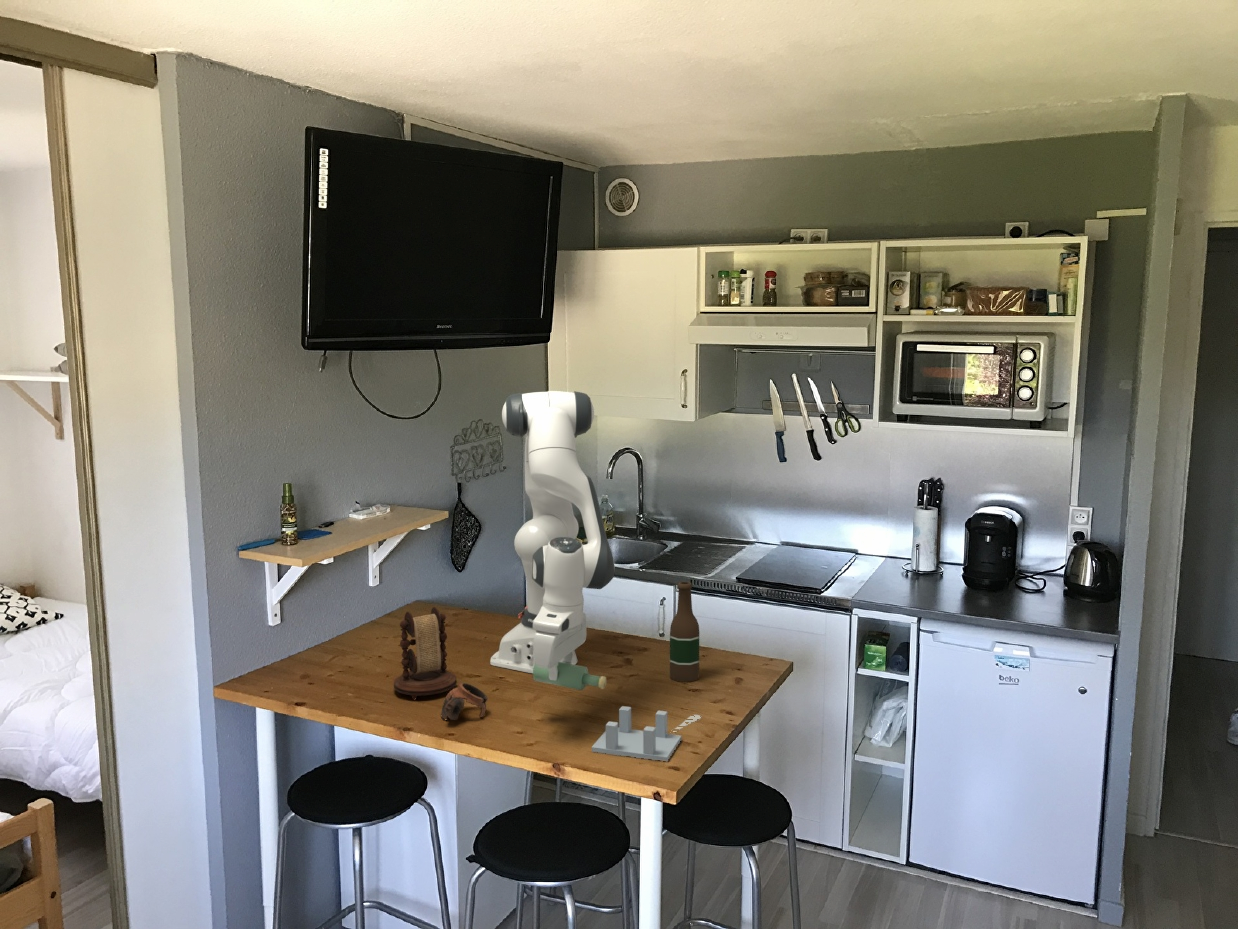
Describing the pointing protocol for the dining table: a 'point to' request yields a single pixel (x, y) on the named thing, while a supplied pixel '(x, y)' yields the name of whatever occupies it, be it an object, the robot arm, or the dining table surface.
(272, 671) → the dining table surface
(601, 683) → the bottle
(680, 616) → the beer bottle
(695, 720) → the butter knife
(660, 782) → the dining table surface
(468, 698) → the brown ring shaped device
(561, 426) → the robot arm
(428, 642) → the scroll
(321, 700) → the dining table surface
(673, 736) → the rest
